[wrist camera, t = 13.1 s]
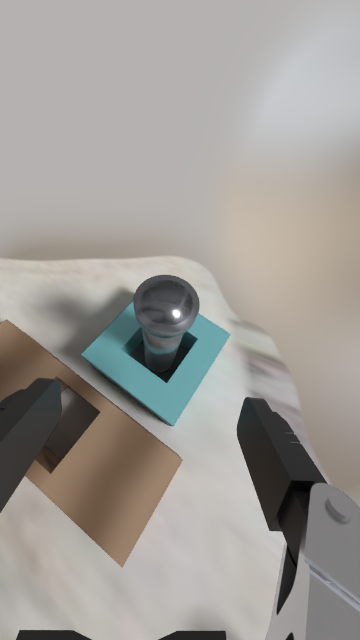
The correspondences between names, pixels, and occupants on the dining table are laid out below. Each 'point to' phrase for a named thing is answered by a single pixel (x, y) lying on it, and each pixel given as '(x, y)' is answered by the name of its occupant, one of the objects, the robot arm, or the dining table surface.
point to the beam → (92, 454)
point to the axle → (164, 317)
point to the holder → (141, 383)
